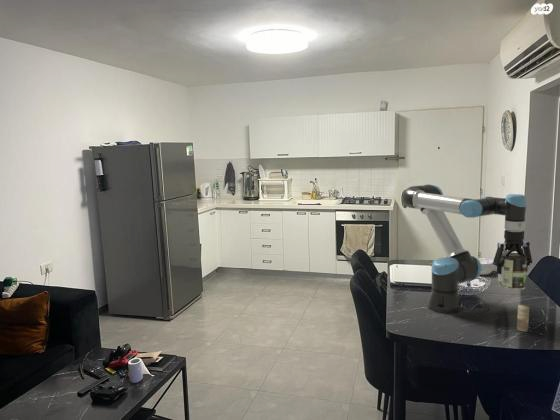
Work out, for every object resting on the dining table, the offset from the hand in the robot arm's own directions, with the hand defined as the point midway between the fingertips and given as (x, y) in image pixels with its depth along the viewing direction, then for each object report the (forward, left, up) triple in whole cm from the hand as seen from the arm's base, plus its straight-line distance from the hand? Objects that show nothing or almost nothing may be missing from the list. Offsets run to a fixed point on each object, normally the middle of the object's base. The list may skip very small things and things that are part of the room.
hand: (511, 279), depth 180 cm
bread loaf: (-4, -12, -17) cm, 21 cm away
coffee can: (0, 0, -3) cm, 3 cm away
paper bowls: (+33, +65, -18) cm, 75 cm away
